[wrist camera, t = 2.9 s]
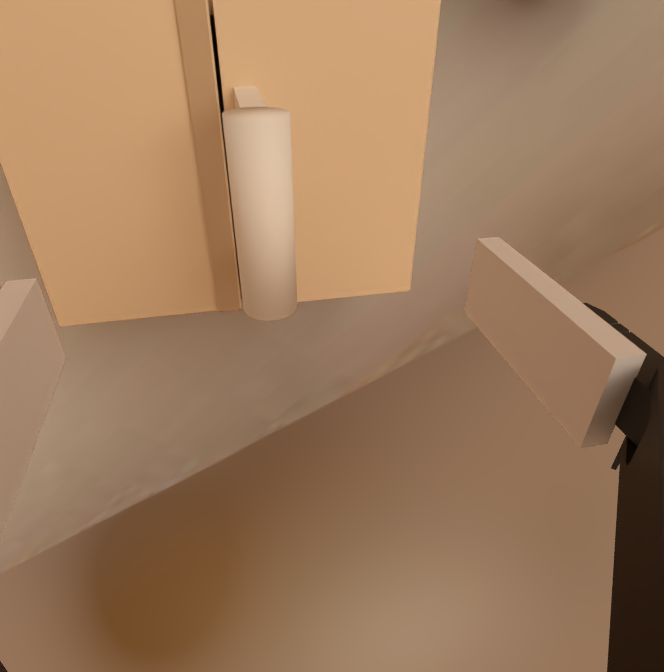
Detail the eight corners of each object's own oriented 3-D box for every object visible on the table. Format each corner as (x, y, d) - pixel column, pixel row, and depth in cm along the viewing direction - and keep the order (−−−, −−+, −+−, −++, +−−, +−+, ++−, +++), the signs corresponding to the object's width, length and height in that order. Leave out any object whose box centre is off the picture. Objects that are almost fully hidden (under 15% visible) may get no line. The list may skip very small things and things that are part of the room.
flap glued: (-53, -10, 19) (-64, -9, 19) (206, -8, 21) (206, -8, 20) (62, 318, 28) (58, 328, 27) (240, 300, 30) (242, 309, 29)
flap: (206, -8, 21) (209, -7, 15) (434, -6, 23) (526, -5, 16) (240, 300, 30) (252, 387, 23) (405, 284, 31) (458, 360, 25)
